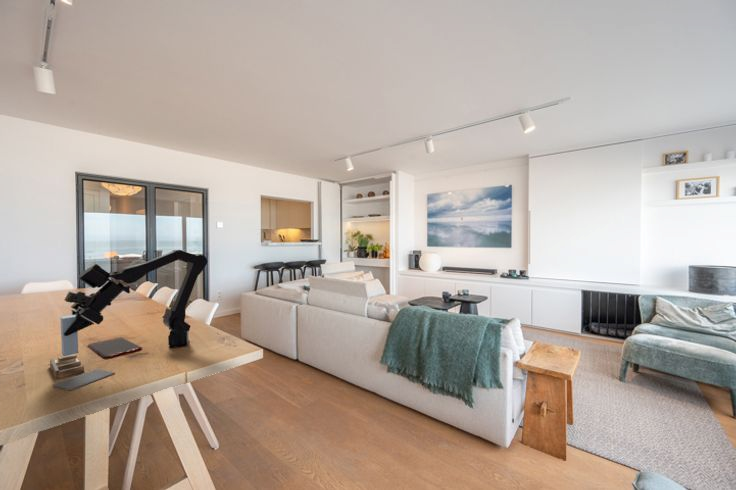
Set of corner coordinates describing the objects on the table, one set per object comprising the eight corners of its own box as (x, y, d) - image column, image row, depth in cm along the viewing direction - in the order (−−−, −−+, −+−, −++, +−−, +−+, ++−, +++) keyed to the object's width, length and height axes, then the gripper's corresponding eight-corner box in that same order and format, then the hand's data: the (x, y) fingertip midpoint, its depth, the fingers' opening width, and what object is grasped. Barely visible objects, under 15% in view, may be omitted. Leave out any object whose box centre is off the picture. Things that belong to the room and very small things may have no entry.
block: (76, 350, 107) (74, 314, 107) (78, 353, 104) (76, 316, 104) (62, 353, 104) (60, 316, 104) (64, 356, 102) (62, 318, 101)
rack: (76, 360, 114) (76, 353, 114) (84, 371, 105) (83, 364, 105) (50, 366, 109) (50, 359, 109) (55, 378, 100) (55, 371, 100)
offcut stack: (77, 361, 114) (76, 352, 114) (79, 364, 111) (78, 354, 111) (54, 366, 109) (53, 357, 109) (55, 369, 107) (55, 360, 107)
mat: (97, 369, 106) (97, 368, 106) (114, 373, 103) (114, 372, 103) (52, 385, 95) (52, 384, 95) (70, 390, 92) (70, 389, 92)
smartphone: (122, 336, 140) (143, 347, 125) (122, 339, 140) (143, 350, 125) (86, 344, 130) (104, 356, 115) (86, 347, 130) (105, 360, 115)
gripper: (78, 279, 112) (34, 316, 104) (89, 284, 101) (41, 326, 93) (106, 297, 119) (68, 333, 111) (120, 304, 107) (78, 344, 99)
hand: (63, 334), depth 103 cm, fingers closed on block, 4 cm apart
